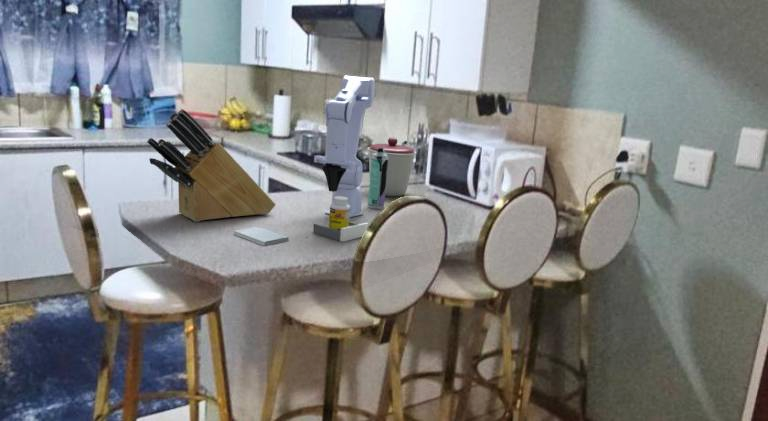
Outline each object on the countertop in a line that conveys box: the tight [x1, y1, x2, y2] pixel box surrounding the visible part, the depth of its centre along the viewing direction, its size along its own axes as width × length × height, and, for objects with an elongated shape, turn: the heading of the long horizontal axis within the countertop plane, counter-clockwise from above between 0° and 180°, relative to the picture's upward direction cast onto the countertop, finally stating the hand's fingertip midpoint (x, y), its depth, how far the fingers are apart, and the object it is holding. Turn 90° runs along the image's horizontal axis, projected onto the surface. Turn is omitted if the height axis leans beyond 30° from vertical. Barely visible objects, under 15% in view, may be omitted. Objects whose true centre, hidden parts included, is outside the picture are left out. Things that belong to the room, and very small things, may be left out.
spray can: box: [367, 148, 388, 210], centre depth 209 cm, size 6×6×20 cm
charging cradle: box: [312, 220, 370, 243], centre depth 174 cm, size 11×11×4 cm
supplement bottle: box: [328, 196, 351, 231], centre depth 174 cm, size 6×6×10 cm
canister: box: [367, 136, 417, 197], centre depth 231 cm, size 18×18×21 cm
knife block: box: [146, 108, 276, 223], centre depth 179 cm, size 11×35×31 cm, turn 130°
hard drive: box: [233, 226, 290, 246], centre depth 165 cm, size 2×8×12 cm
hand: (332, 191), depth 179 cm, fingers closed
